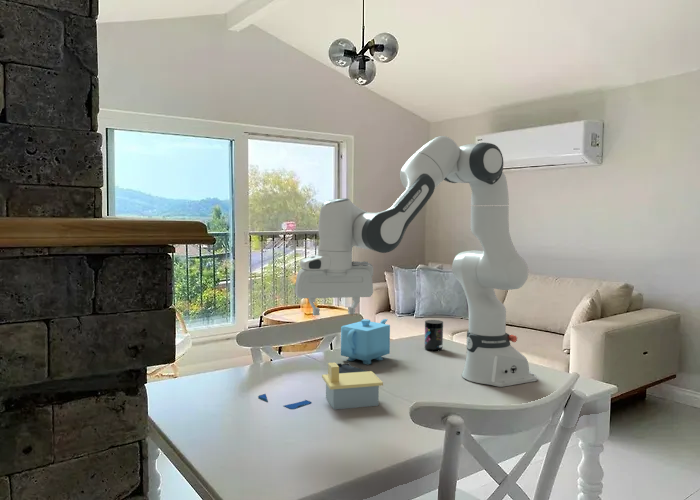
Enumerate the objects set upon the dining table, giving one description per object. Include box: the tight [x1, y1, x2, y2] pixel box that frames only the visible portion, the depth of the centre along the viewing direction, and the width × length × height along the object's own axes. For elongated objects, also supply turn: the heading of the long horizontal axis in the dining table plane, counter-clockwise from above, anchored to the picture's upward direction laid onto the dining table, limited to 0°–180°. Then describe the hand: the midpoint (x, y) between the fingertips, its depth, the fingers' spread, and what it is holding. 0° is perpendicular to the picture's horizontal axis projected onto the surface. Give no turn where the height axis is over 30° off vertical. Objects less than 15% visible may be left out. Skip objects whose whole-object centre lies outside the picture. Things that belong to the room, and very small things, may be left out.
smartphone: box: [257, 393, 312, 410], centre depth 144 cm, size 7×1×15 cm
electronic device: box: [336, 362, 367, 373], centre depth 163 cm, size 9×6×15 cm
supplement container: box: [424, 319, 444, 352], centre depth 198 cm, size 7×7×10 cm
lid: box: [321, 362, 384, 390], centre depth 142 cm, size 14×10×6 cm
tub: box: [325, 383, 380, 411], centre depth 142 cm, size 12×9×6 cm
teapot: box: [340, 318, 391, 365], centre depth 186 cm, size 22×11×14 cm, turn 141°
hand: (333, 314), depth 139 cm, fingers open, 8 cm apart
